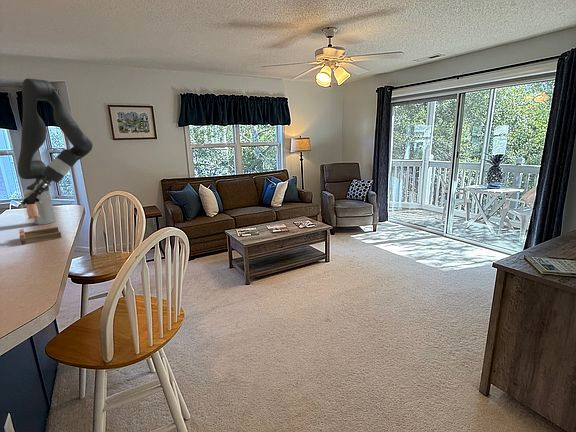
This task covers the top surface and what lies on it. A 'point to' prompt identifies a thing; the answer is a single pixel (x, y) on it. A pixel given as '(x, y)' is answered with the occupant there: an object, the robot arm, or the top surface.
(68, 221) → the top surface
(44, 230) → the trap box
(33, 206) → the grandmother figurine
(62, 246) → the top surface
